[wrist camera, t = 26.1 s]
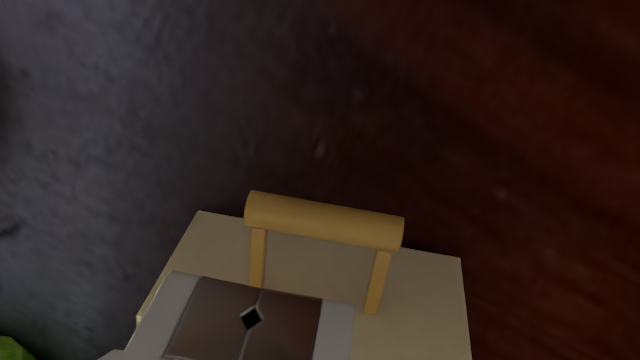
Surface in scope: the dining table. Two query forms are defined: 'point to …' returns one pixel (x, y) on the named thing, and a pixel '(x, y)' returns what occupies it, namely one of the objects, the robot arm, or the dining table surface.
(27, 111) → the dining table surface
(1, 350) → the lettuce
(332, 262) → the drawer
